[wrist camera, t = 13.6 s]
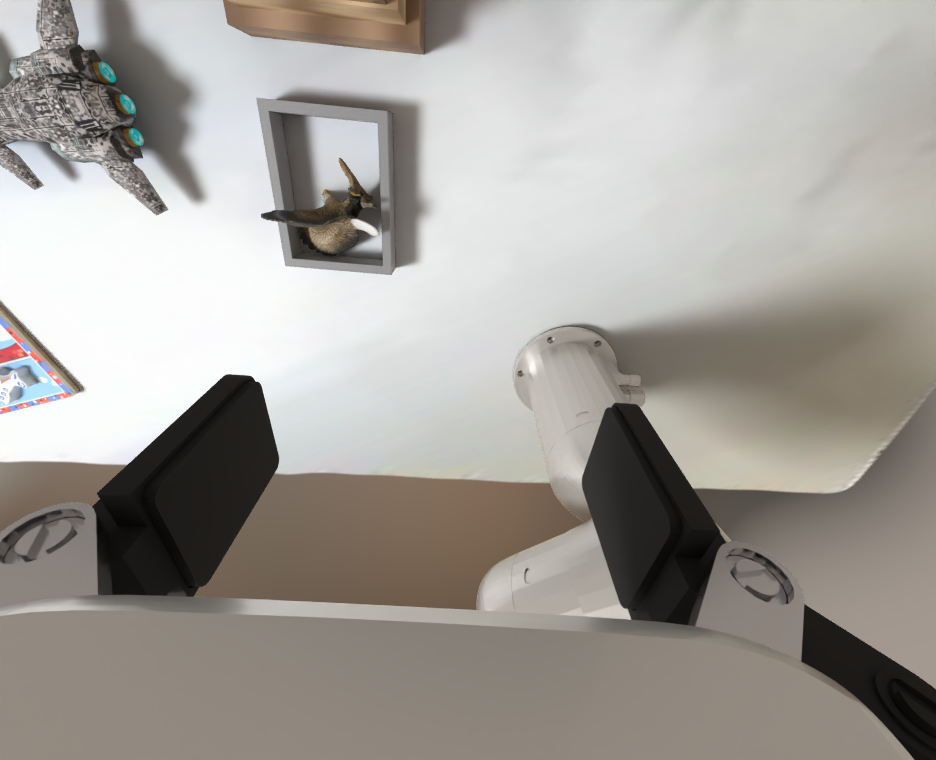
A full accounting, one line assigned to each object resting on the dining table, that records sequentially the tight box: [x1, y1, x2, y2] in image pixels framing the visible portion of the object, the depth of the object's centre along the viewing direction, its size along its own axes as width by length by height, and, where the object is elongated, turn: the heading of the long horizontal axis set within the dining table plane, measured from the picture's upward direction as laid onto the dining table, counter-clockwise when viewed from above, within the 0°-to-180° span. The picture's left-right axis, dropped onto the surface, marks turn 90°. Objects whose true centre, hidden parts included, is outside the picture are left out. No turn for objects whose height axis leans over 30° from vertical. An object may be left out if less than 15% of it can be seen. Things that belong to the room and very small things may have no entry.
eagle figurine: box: [261, 158, 379, 256], centre depth 35 cm, size 8×7×9 cm
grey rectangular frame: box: [257, 98, 395, 275], centre depth 35 cm, size 11×14×2 cm
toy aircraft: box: [0, 0, 168, 215], centre depth 31 cm, size 16×20×5 cm
